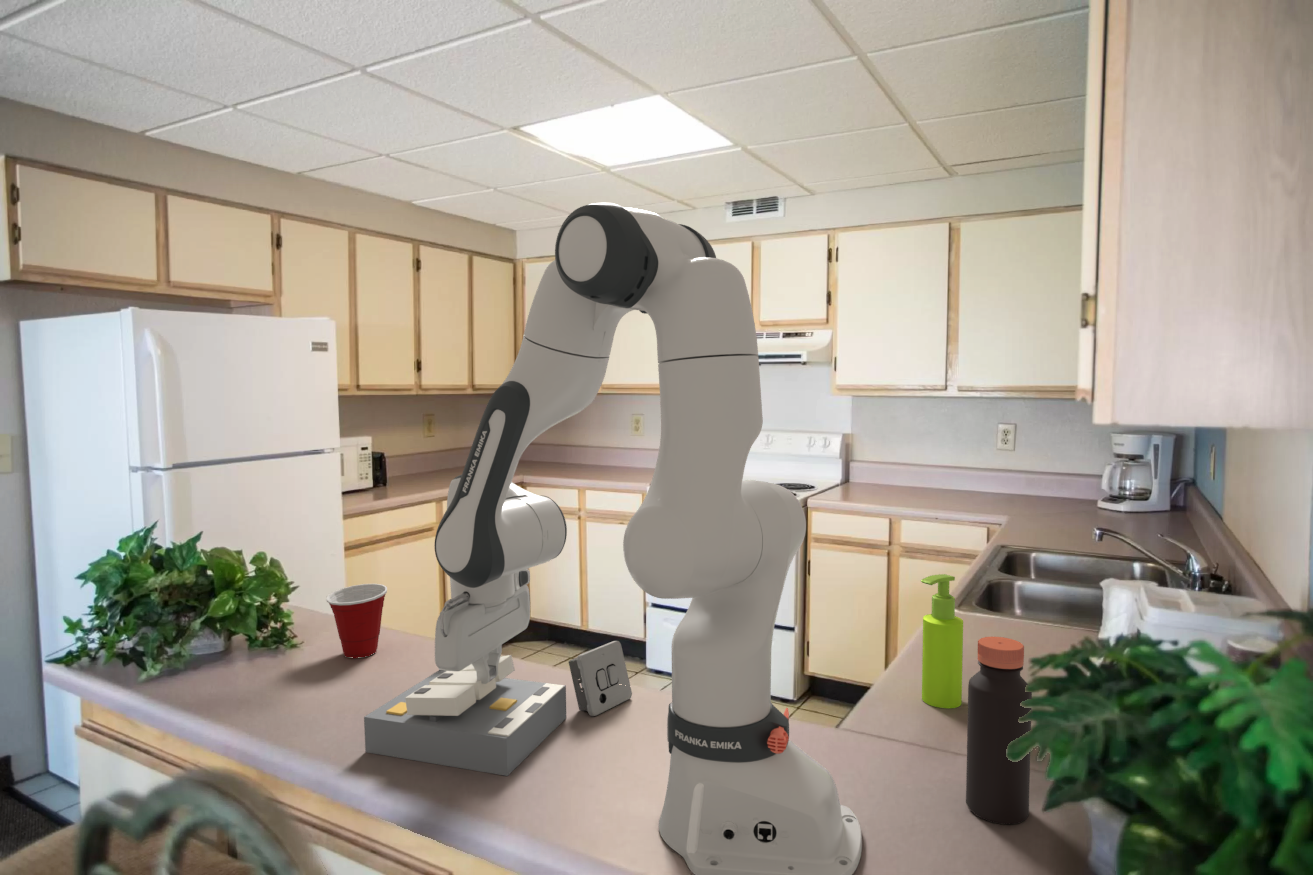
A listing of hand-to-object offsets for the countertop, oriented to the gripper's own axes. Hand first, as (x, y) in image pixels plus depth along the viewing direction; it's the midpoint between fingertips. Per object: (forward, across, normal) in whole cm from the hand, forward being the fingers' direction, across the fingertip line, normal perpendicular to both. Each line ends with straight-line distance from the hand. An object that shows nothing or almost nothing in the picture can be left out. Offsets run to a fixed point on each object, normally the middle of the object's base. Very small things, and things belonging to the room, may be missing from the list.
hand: (487, 679), depth 110 cm
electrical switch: (+9, +15, -11) cm, 20 cm away
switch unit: (+8, 0, +3) cm, 9 cm away
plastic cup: (+7, +23, +41) cm, 48 cm away
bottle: (+11, +1, -67) cm, 67 cm away
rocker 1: (+2, -6, +4) cm, 7 cm away
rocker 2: (+2, 0, +4) cm, 5 cm away
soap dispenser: (+10, +31, -61) cm, 70 cm away
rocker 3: (+2, +5, +4) cm, 7 cm away
